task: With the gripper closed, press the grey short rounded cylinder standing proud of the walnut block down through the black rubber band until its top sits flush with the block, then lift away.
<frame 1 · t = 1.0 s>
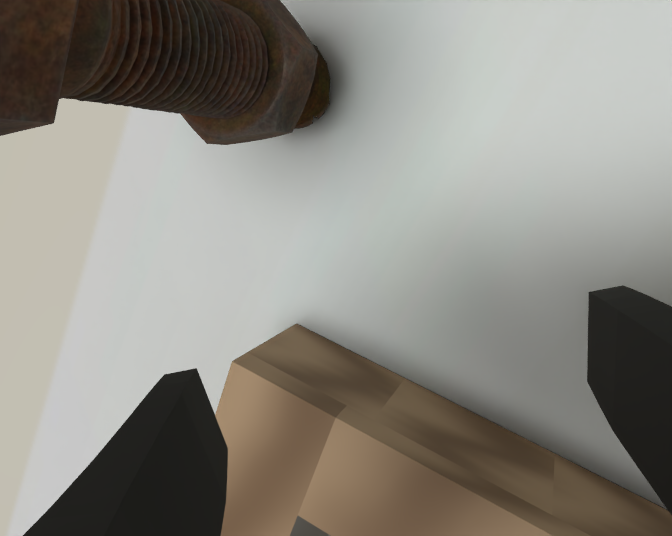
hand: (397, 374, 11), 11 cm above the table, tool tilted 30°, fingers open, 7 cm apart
bolt: (302, 87, 22), on the table
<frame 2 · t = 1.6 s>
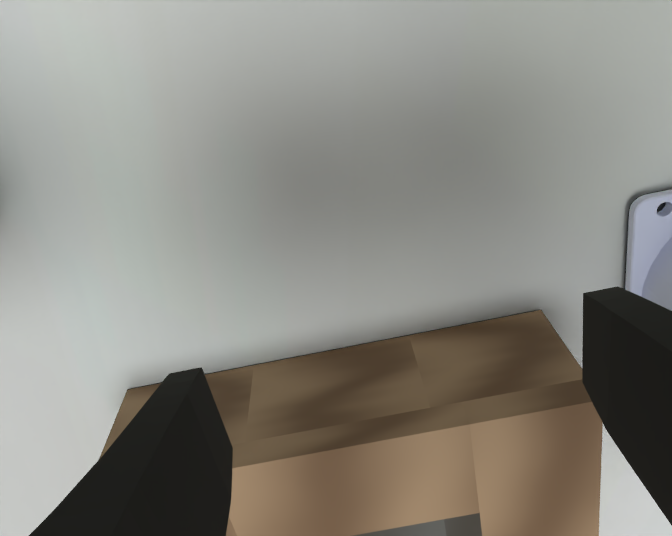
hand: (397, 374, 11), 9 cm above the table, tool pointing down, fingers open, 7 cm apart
band block: (366, 493, 26), on the table
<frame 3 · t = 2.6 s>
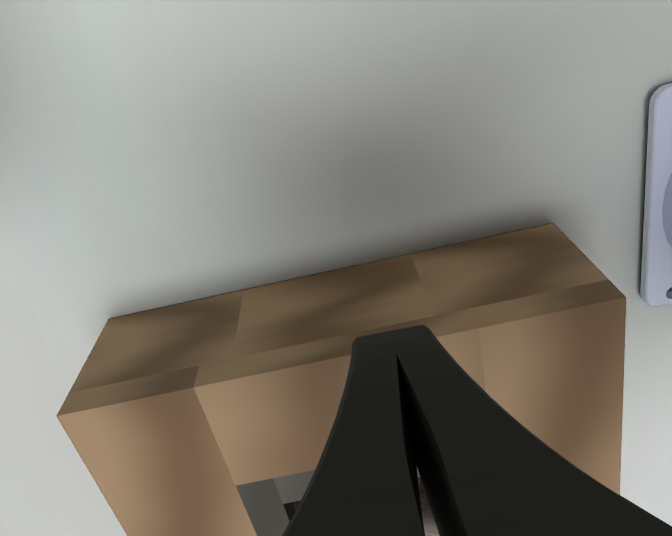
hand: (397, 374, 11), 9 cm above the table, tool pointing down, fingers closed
band block: (368, 436, 24), on the table
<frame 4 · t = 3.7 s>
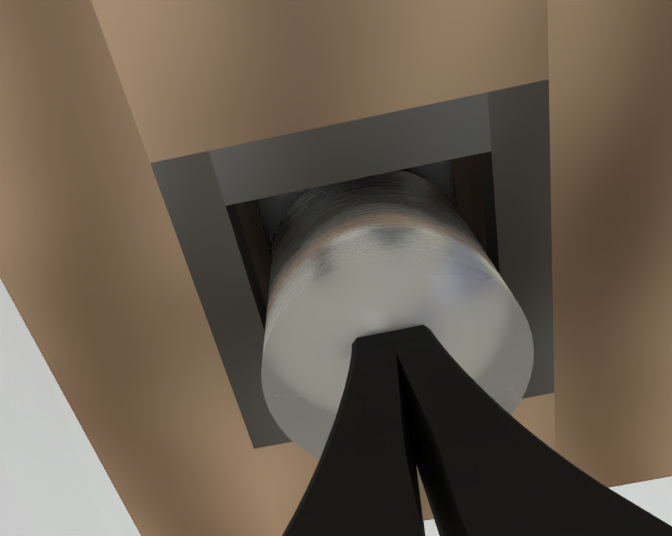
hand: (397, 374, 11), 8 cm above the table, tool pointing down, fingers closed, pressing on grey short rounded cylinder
grey short rounded cylinder: (382, 310, 13), point 6 cm above the table, slide at 0.0 cm, touching gripper
band block: (358, 210, 18), on the table
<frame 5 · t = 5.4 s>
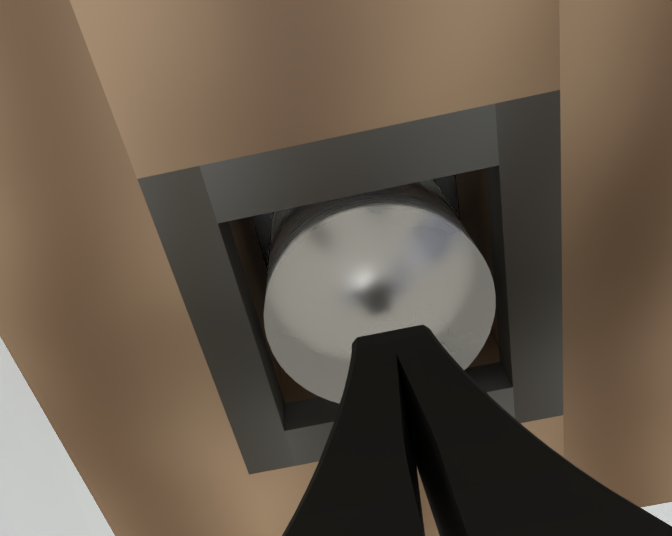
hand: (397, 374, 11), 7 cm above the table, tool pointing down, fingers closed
grey short rounded cylinder: (368, 268, 14), point 3 cm above the table, slide at 2.8 cm
band block: (358, 222, 17), on the table
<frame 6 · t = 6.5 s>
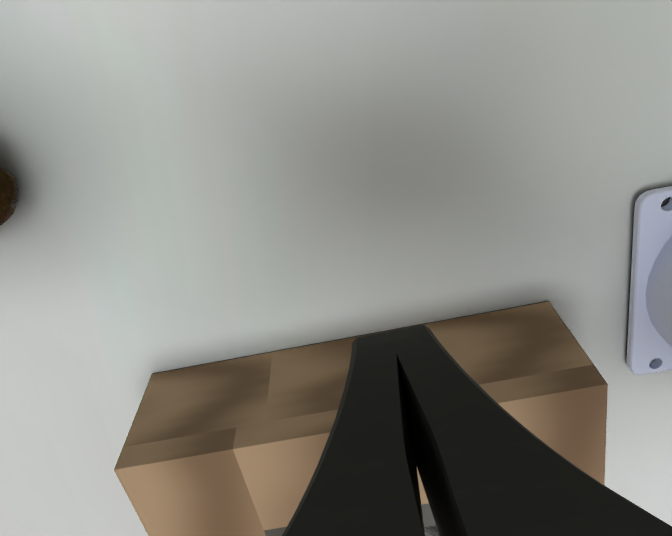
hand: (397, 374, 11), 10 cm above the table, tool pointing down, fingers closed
grey short rounded cylinder: (385, 534, 24), point 3 cm above the table, slide at 2.8 cm
band block: (378, 479, 26), on the table
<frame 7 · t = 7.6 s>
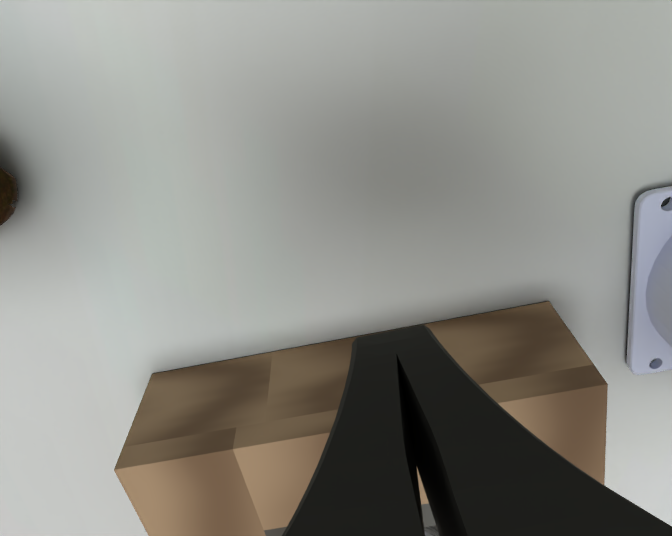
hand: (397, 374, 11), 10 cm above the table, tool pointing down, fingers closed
grey short rounded cylinder: (385, 534, 24), point 3 cm above the table, slide at 2.8 cm
band block: (378, 479, 26), on the table
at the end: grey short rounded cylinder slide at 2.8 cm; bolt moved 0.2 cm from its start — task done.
